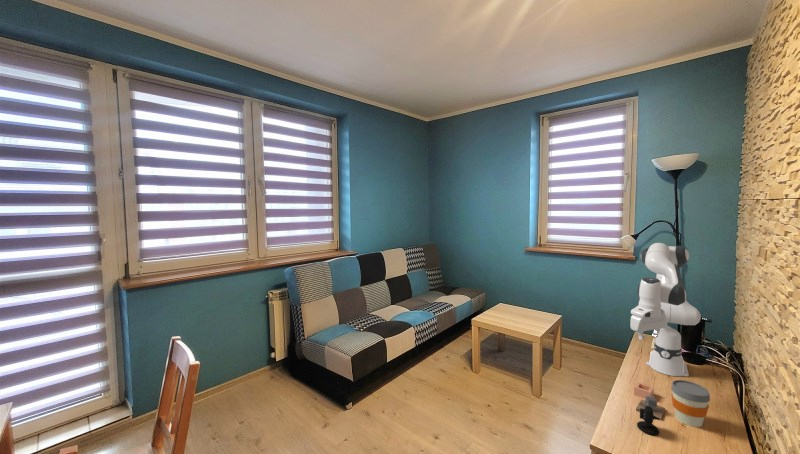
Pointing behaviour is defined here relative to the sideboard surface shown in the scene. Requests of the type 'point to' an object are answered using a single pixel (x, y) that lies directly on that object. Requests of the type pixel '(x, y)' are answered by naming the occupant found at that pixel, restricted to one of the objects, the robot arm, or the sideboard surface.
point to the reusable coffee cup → (690, 402)
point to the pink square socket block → (643, 390)
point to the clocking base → (656, 413)
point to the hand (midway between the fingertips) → (648, 338)
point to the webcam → (647, 421)
